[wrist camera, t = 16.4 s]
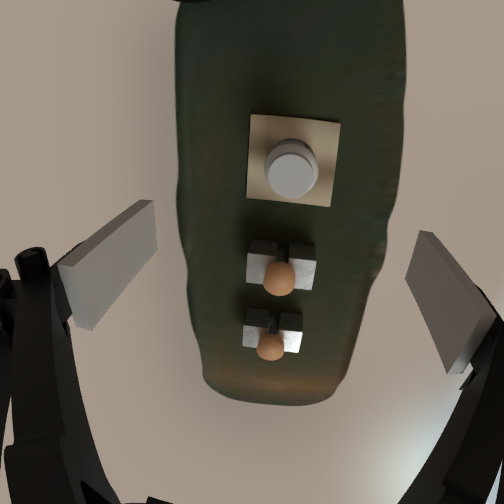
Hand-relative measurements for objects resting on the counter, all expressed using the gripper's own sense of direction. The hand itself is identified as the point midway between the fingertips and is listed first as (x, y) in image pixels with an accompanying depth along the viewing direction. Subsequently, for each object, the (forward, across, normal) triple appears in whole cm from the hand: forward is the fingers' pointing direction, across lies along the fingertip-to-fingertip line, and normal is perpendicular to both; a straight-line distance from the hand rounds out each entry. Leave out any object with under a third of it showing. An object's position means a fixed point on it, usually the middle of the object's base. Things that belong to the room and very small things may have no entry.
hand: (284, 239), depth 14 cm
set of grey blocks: (+22, 0, -18) cm, 29 cm away
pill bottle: (+22, 0, 0) cm, 22 cm away
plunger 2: (+21, 0, -24) cm, 32 cm away
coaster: (+22, 0, 0) cm, 22 cm away
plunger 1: (+21, 0, -13) cm, 24 cm away
